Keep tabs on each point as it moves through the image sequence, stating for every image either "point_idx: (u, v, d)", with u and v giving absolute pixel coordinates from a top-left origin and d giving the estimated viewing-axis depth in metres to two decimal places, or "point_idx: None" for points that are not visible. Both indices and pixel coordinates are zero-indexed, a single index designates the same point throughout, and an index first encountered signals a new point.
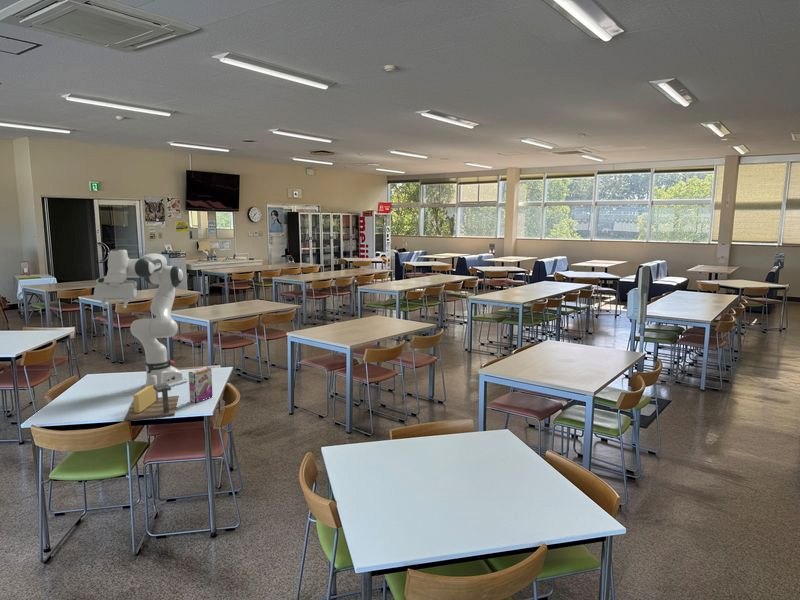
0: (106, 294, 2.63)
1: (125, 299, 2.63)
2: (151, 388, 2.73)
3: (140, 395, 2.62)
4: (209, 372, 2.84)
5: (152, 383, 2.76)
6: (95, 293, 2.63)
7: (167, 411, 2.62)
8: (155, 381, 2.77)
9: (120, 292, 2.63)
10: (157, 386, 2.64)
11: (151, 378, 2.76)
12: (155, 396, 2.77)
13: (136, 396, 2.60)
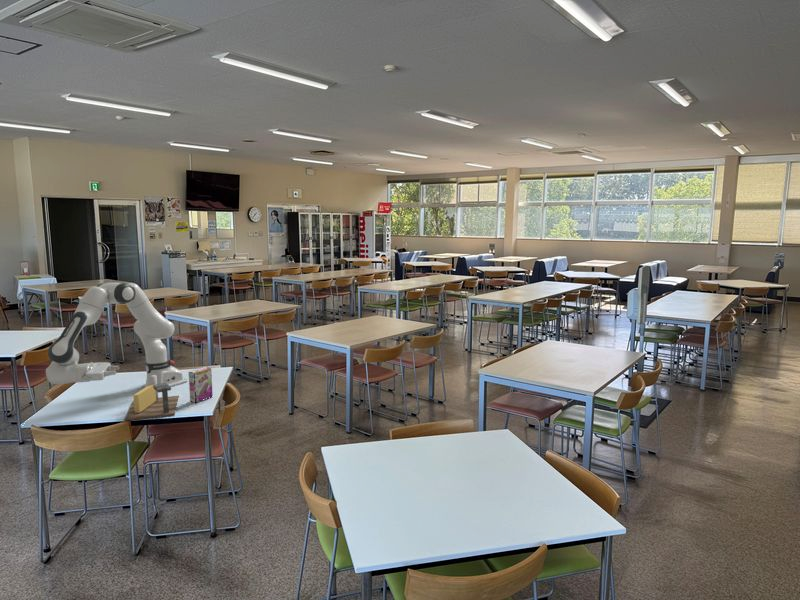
0: None
1: None
2: (151, 388, 2.73)
3: (140, 395, 2.62)
4: (209, 372, 2.84)
5: (152, 383, 2.76)
6: None
7: (167, 411, 2.62)
8: (155, 381, 2.77)
9: None
10: (157, 386, 2.64)
11: (151, 378, 2.76)
12: (155, 396, 2.77)
13: (136, 396, 2.60)
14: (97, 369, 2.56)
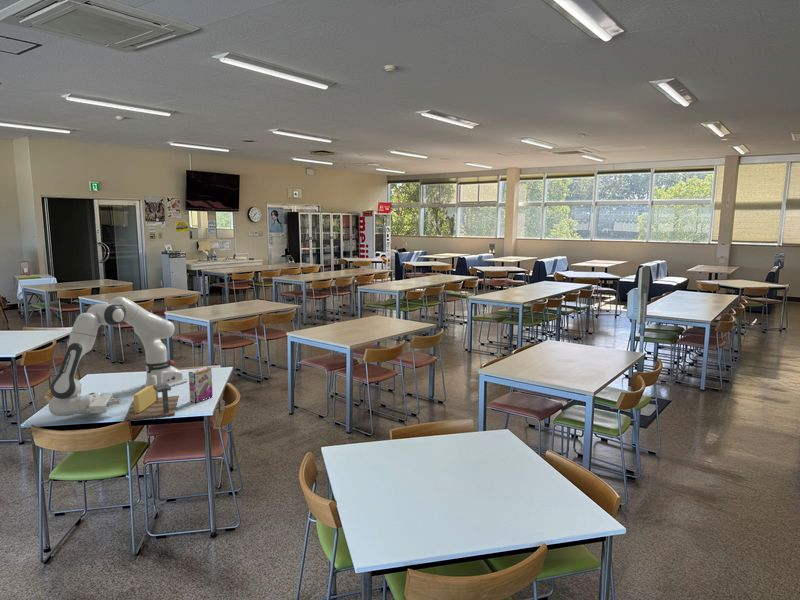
0: None
1: None
2: (151, 388, 2.73)
3: (140, 395, 2.62)
4: (209, 372, 2.84)
5: (152, 383, 2.76)
6: None
7: (167, 411, 2.62)
8: (155, 381, 2.77)
9: None
10: (157, 386, 2.64)
11: (151, 378, 2.76)
12: (155, 396, 2.77)
13: (136, 396, 2.60)
14: (100, 401, 2.58)
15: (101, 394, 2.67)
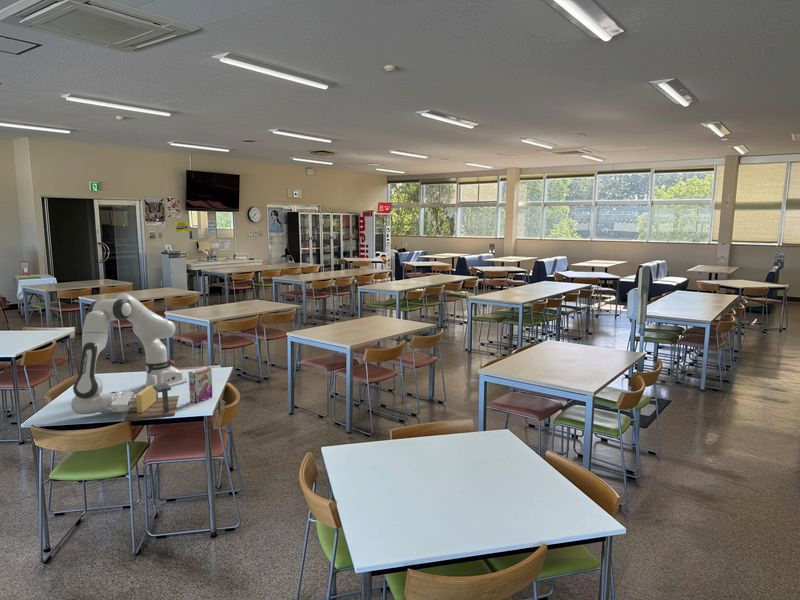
0: None
1: None
2: (152, 388, 2.73)
3: (142, 395, 2.62)
4: (209, 372, 2.84)
5: (152, 383, 2.76)
6: None
7: (167, 411, 2.62)
8: (155, 381, 2.77)
9: None
10: (157, 386, 2.64)
11: (151, 378, 2.76)
12: (155, 396, 2.77)
13: (139, 396, 2.60)
14: (121, 400, 2.61)
15: (122, 393, 2.71)
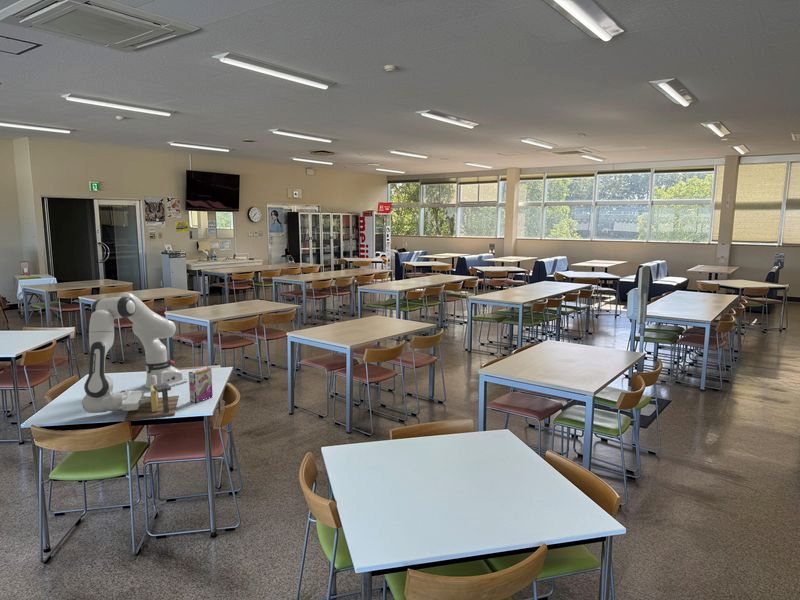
0: None
1: None
2: None
3: None
4: (209, 372, 2.84)
5: (153, 383, 2.76)
6: None
7: (167, 411, 2.62)
8: (156, 381, 2.77)
9: None
10: (157, 386, 2.64)
11: (152, 378, 2.76)
12: (157, 396, 2.78)
13: (154, 395, 2.62)
14: (132, 398, 2.62)
15: (132, 392, 2.72)
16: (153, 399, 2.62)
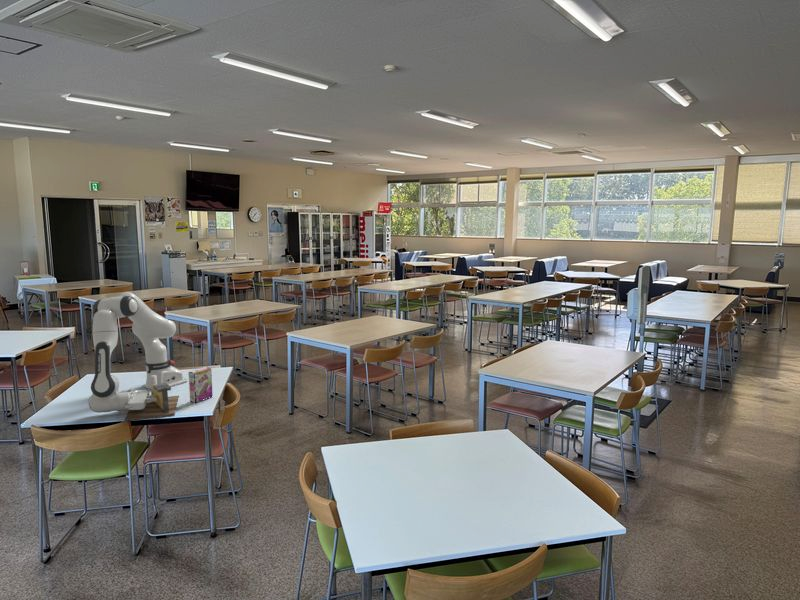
0: None
1: None
2: None
3: None
4: (209, 372, 2.84)
5: (154, 383, 2.76)
6: None
7: (167, 411, 2.62)
8: (156, 380, 2.78)
9: None
10: (157, 386, 2.64)
11: (153, 378, 2.76)
12: None
13: None
14: (138, 398, 2.63)
15: (138, 391, 2.73)
16: None
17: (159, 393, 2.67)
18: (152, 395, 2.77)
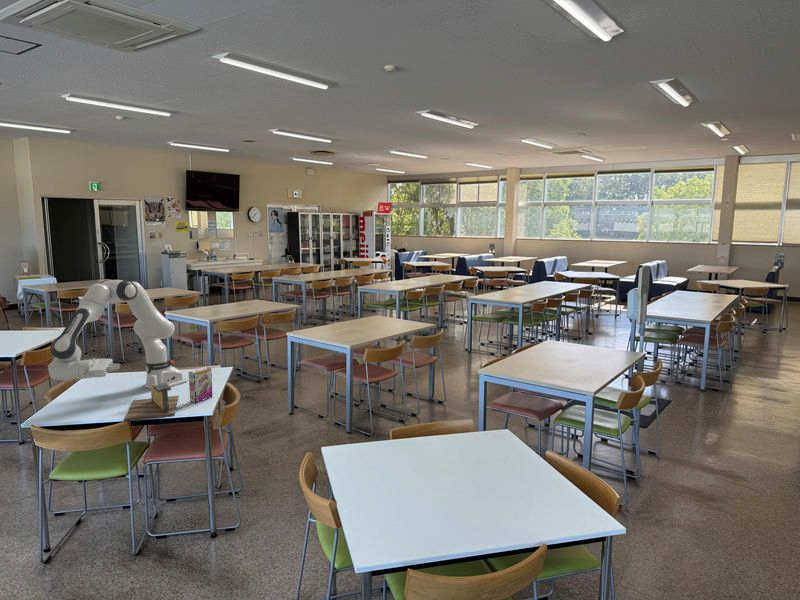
0: None
1: None
2: None
3: None
4: (209, 372, 2.84)
5: (154, 383, 2.76)
6: None
7: (167, 411, 2.62)
8: (156, 380, 2.78)
9: None
10: (157, 386, 2.64)
11: (153, 378, 2.76)
12: None
13: None
14: (99, 365, 2.56)
15: (100, 360, 2.65)
16: None
17: (159, 393, 2.67)
18: (152, 395, 2.77)
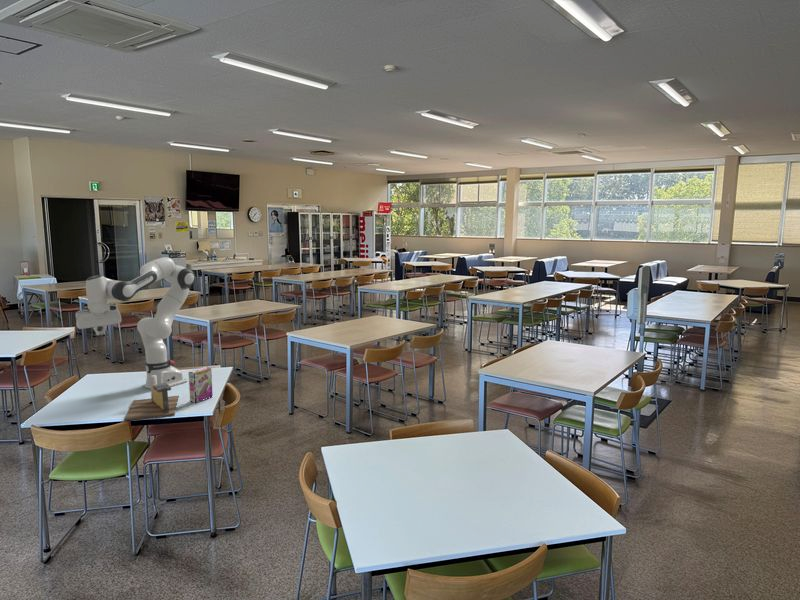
0: None
1: None
2: None
3: None
4: (209, 372, 2.84)
5: (154, 383, 2.76)
6: None
7: (167, 411, 2.62)
8: (156, 380, 2.78)
9: None
10: (157, 386, 2.64)
11: (153, 378, 2.76)
12: None
13: None
14: (94, 320, 2.67)
15: (116, 314, 2.74)
16: None
17: (159, 393, 2.67)
18: (152, 395, 2.77)
